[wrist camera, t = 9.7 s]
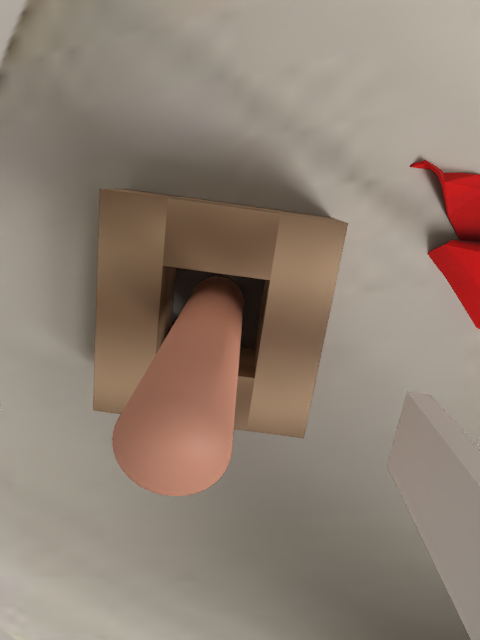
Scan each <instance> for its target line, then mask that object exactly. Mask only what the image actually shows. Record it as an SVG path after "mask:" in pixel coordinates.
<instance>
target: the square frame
mask: <svg viewBox="0 0 480 640" xmlns="http://www.w3.org/2000/svg"><path fill="white" fill-rule="evenodd" d="M347 226H348V223H346V222H343V221H340V220H337V219H334V218H330V217H323V216H316V215H309V214H302V213H294V212H287V211H280V210H273V209H266V208H258V207H251V206H244V205H237V204H230V203H222V202H215V201H208V200H201V199H194V198H186V197H179V196H172V195H165V194H158V193H150V192H143V191H136V190H129V189H100V200H99V233H98V265H97V298H96V331H95V364H94V396H93V410H95V411H103V412H110V413H118V414H121V413H122V411H123V410H124V408H125V406H126V405H127V403H128V401H129V399H130V398H131V396H132V394H133V393H134V391H135V389H136V388H137V386H138V384H139V383H140V381H141V379H142V377H143V376H144V374H145V372H146V371H147V369H148V367H149V366H150V364H151V362H152V360H153V359H154V357H155V355H156V354H157V352H158V350H159V349H160V347H161V345H162V343H163V342H164V340H165V338H166V337H167V335H168V333H169V332H170V330H171V323H172V311H173V300H174V288H175V277H176V268H184V269H191V270H198V271H205V272H213V273H220V274H227V275H235V276H242V277H249V278H257V279H264V280H265V284H264V290H263V297H262V303H261V310H260V317H259V323H258V330H257V336H256V343H255V349H250V348H243V347H240V355H239V368H238V380H237V393H236V405H235V418H234V429H238V430H246V431H253V432H261V433H268V434H276V435H283V436H291V437H298V438H304V435H305V430H306V425H307V420H308V415H309V411H310V406H311V401H312V396H313V391H314V386H315V381H316V377H317V372H318V367H319V362H320V357H321V352H322V347H323V343H324V338H325V333H326V328H327V323H328V318H329V313H330V309H331V304H332V299H333V294H334V289H335V284H336V279H337V274H338V270H339V265H340V260H341V255H342V250H343V245H344V240H345V236H346V231H347Z"/></svg>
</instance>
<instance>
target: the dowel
mask: <svg viewBox="0 0 480 640" xmlns="http://www.w3.org/2000/svg"><path fill="white" fill-rule="evenodd" d="M243 305H244V300H243V295H242V293H241V291H240V289H239V287H238V286H237V285H236V284H235V283H234V282H232V281H231V280H229V279H226V278H223V277H210V278H207V279H205V280H203V281H202V282H200V283H199V284H198V285H197V286H196V288H195V289H194V291H193V293H192V294H191V296H190V298H189V299H188V301H187V303H186V304H185V306H184V308H183V310H182V311H181V313H180V315H179V316H178V318H177V320H176V321H175V323H174V325H173V327H172V328H171V330H170V332H169V333H168V335H167V337H166V338H165V340H164V342H163V343H162V345H161V347H160V349H159V350H158V352H157V354H156V355H155V357H154V359H153V360H152V362H151V364H150V366H149V367H148V369H147V371H146V372H145V374H144V376H143V377H142V379H141V381H140V383H139V384H138V386H137V388H136V389H135V391H134V393H133V394H132V396H131V398H130V399H129V401H128V403H127V405H126V406H125V408H124V410H123V411H122V413H121V415H120V416H119V418H118V420H117V422H116V424H115V427H114V431H113V438H112V441H113V450H114V454H115V457H116V460H117V462H118V464H119V465H120V467H121V468H122V470H123V471H124V472H125V474H126V475H127V476H128V477H129V478H130V479H131V480H132V481H134V482H135V483H136V484H138V485H139V486H141V487H143V488H145V489H147V490H149V491H151V492H154V493H158V494H162V495H167V496H185V495H191V494H195V493H198V492H200V491H203V490H205V489H207V488H208V487H210V486H211V485H213V484H214V483H215V482H217V481H218V480H219V479H220V478H221V476H222V475H223V474H224V472H225V471H226V469H227V467H228V465H229V462H230V459H231V455H232V443H233V430H234V418H235V405H236V393H237V380H238V368H239V355H240V343H241V330H242V318H243Z"/></svg>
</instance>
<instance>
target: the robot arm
mask: <svg viewBox="0 0 480 640" xmlns="http://www.w3.org/2000/svg"><path fill="white" fill-rule="evenodd" d="M0 411H1V407H0ZM387 467H388V469H389V471H390V473H391V475H392V477H393V479H394V481H395V484H396V486H397V488H398V490H399V492H400V494H401V496H402V498H403V500H404V502H405V504H406V506H407V508H408V511H409V513H410V515H411V517H412V519H413V521H414V523H415V525H416V527H417V529H418V531H419V533H420V535H421V538H422V540H423V542H424V544H425V546H426V548H427V550H428V552H429V554H430V556H431V558H432V560H433V562H434V565H435V567H436V569H437V571H438V573H439V575H440V577H441V579H442V581H443V583H444V585H445V587H446V589H447V592H448V594H449V596H450V598H451V600H452V602H453V604H454V606H455V608H456V610H457V612H458V614H459V616H460V619H461V621H462V623H463V625H464V627H465V629H466V631H467V633H468V635H469V637H470V639H471V640H480V450H479V449H478V448H477V447H476V446H475V445H474V443H473V442H472V441H471V440H470V439H469V438H468V437H467V436H466V434H465V433H464V432H463V431H462V430H461V429H460V428H459V426H458V425H457V424H456V423H455V422H454V421H453V420H452V418H451V417H450V416H449V415H448V414H447V413H446V412H445V410H444V409H443V408H442V407H441V406H440V405H439V404H438V402H437V401H436V400H435V399H434V398H433V397H432V396H431V395H427V394H419V393H412V392H407V394H406V398H405V401H404V405H403V409H402V412H401V416H400V420H399V423H398V427H397V431H396V434H395V438H394V442H393V445H392V449H391V453H390V456H389V460H388V464H387Z"/></svg>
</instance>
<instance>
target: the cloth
mask: <svg viewBox="0 0 480 640" xmlns="http://www.w3.org/2000/svg"><path fill="white" fill-rule="evenodd" d="M410 167H415V168H423V169H430V170H432V171H434V172H435V173H436V174H437V175H438V178H439V180H440V182H441V186H442V191H443V196H444V202H445V207H446V213H447V216H448V218H449V220H450V222H451V224H452V226H453V228H454V230H455V232H456V234H457V235H458V237H459V239H460V240H451V241H449V242H448V243H446V244H444V245H442V246H440V247H438V248H436V249H434V250H432V251H430V252H429V253H428V255H429V256H430V258H431V259H432V260H433V262H434V263H435V264H436V266H437V267H438V269H439V270H440V271H441V272H442V273H443V275H444V276H445V278H446V279H447V281H448V282H449V284H450V285H451V287H452V289H453V290H454V292H455V293H456V295H457V297H458V298H459V300H460V301H461V303H462V305H463V306H464V308H465V310H466V311H467V313H468V314H469V316H470V318H471V319H472V321H473V323H474V324H475V326H476V327H477V328H478V329H480V175H475V174H467V173H443V171H442V170H441V169H439V168H438V167H436V166H435V165H433V164H431V163H429V162H428V161H426V160H424V161H421V162H417V163H413V164H412V165H410Z"/></svg>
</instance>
